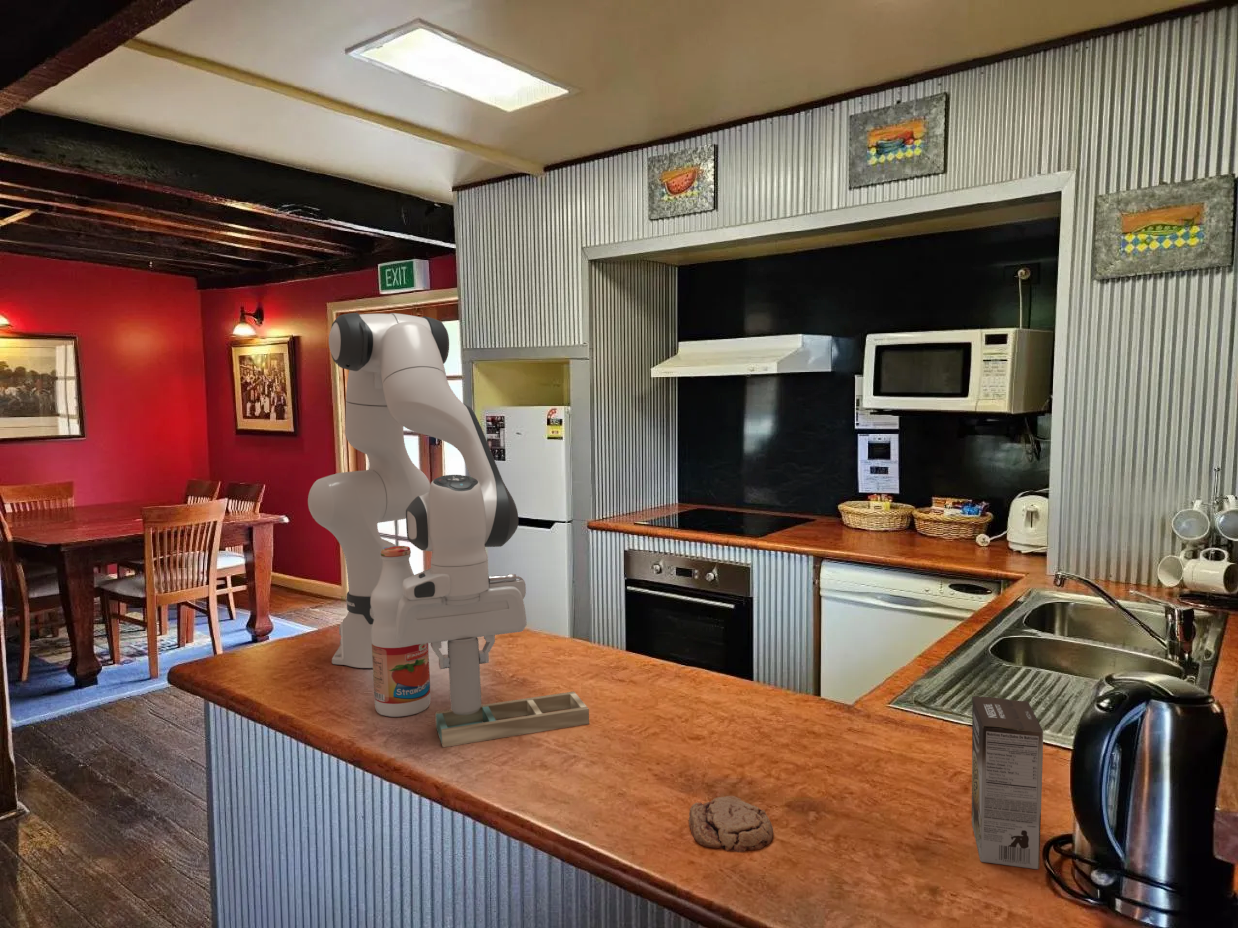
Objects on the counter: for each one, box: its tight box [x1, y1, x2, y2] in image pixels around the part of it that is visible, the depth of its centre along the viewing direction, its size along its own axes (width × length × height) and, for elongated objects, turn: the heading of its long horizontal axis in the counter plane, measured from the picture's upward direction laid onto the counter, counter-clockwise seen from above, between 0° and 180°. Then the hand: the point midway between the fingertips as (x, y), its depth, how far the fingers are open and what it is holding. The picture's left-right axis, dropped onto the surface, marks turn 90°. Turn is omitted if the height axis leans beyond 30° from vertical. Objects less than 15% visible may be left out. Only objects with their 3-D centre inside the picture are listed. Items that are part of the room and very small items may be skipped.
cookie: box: [688, 795, 774, 853], centre depth 102 cm, size 10×11×3 cm
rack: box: [434, 691, 590, 748], centre depth 135 cm, size 8×24×2 cm, turn 109°
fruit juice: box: [370, 545, 432, 718], centre depth 143 cm, size 9×9×28 cm
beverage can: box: [446, 637, 482, 715], centre depth 132 cm, size 5×5×12 cm
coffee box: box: [971, 696, 1044, 870], centre depth 96 cm, size 9×6×16 cm
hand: (464, 665), depth 132 cm, fingers closed on beverage can, 5 cm apart
